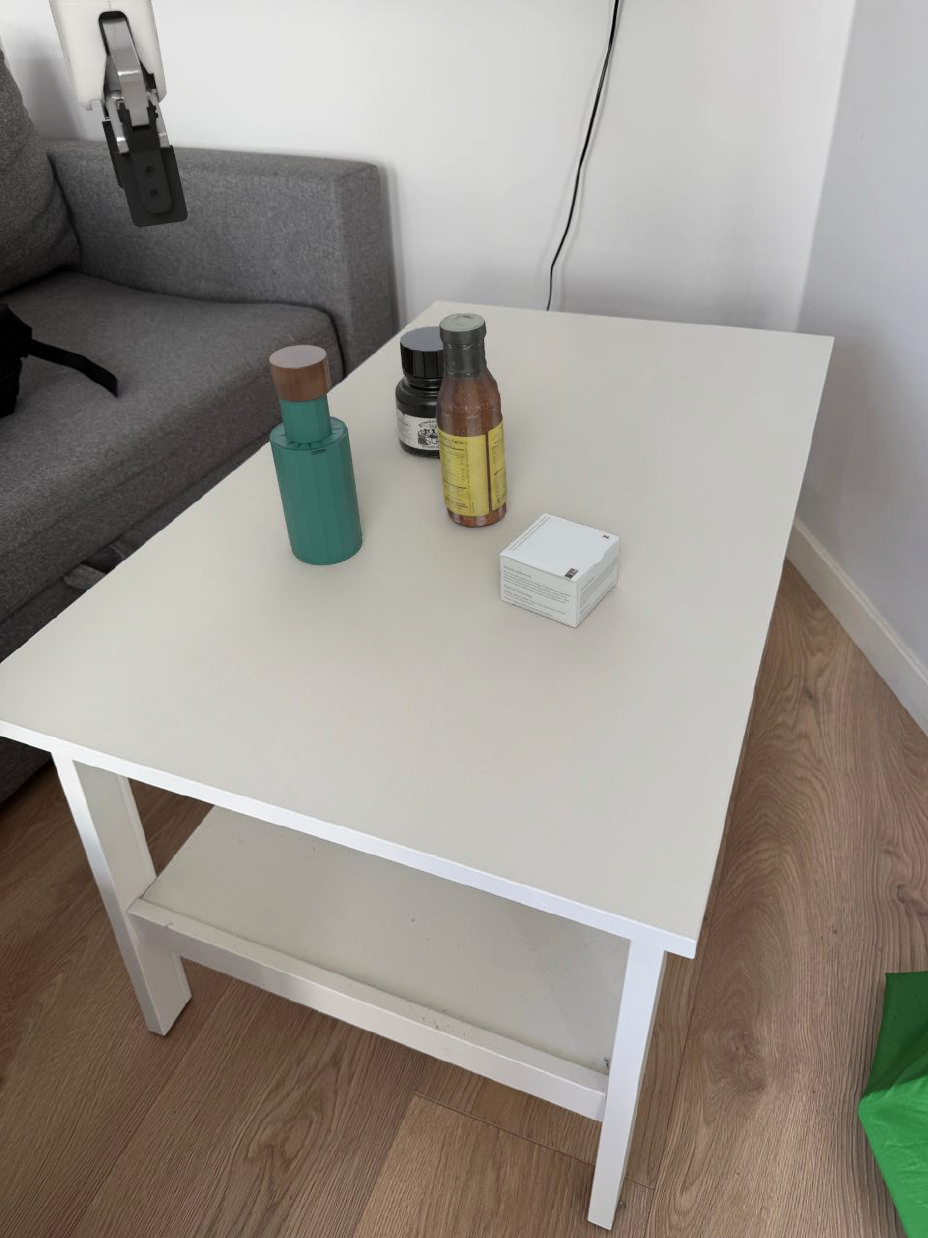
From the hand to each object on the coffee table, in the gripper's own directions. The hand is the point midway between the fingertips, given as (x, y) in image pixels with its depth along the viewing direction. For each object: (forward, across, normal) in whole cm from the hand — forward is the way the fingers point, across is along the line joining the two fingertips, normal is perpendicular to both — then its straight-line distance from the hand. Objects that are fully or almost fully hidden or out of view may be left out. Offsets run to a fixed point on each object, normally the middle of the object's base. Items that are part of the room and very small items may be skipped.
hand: (151, 202), depth 58 cm
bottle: (+34, -9, +9) cm, 37 cm away
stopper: (+21, -9, +9) cm, 24 cm away
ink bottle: (+34, -24, +26) cm, 49 cm away
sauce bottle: (+34, -8, +24) cm, 43 cm away
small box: (+34, +7, +26) cm, 44 cm away
